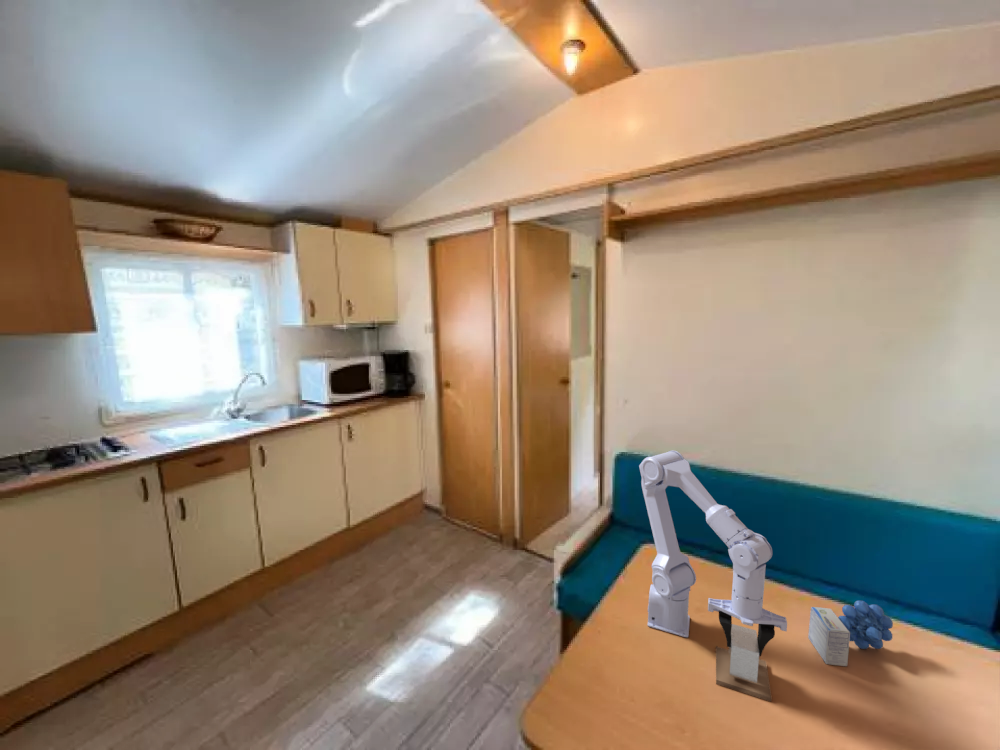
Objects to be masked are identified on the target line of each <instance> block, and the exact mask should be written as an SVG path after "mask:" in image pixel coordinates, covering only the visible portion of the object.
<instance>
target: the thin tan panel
mask: <svg viewBox="0 0 1000 750" xmlns="http://www.w3.org/2000/svg"><path fill="white" fill-rule="evenodd" d="M730 657H731V655H730V654H729V649H726V648H723V647H719V646H717V645H716V646H715V683H716V685H718V686H722V687H724V688H728V689H730V690H734V691H737V692H740V693H743V694H746V695H748V696H751V697H754V698H755V697H756V698H758V699H761V700H764V701H766V702H769V703H770V702H772V693H771V685H770V679H769V671H768V665H767V661H766V660H763V659H760V658H759V663H758V676H757V683H755V682H752V681H748V680H745V679H742V678H739V677H736V676H733V675H730Z"/></svg>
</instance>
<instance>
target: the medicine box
mask: <svg viewBox="0 0 1000 750" xmlns="http://www.w3.org/2000/svg"><path fill="white" fill-rule="evenodd" d="M809 614H810V615H809V625H808V634H807V636H808V640H809V641H810V642H811V644H812V645H813V647H814V648H815V650H816V652H817V653H818V654H819V655H820V657H821V659H822V660H823V662H824V663H825V664H826V665H831V666H832V665H833V666H841V667H847V666H848V661H849V660H848V659H849V650H850V642H851V641H850V632H849V631H848V629H847V628H846V627H845V626H844V624H843V623H842V622H841V621H840V619H839V618H838V617H839V616H838V615H836V613H835V612H834V611H833V609H832V608H826V607H820V606H819V607H817V606H811V607H810V613H809Z"/></svg>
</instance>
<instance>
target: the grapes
mask: <svg viewBox="0 0 1000 750" xmlns="http://www.w3.org/2000/svg"><path fill="white" fill-rule="evenodd" d="M853 605H854V606H852V605H850V604H845V605H842V608H841V610H842V611H841V612H842V613H843V614H842V615H839V616H837V617H838V618H839V619H840V621H841V622H842V623H843V624H844V626H845V627H846V628H847V629H848V631H849V632H850V641H849V642H854V644H855V646H856V647H858V648H859V649H862V650H867V649H869V647H870V646H871V648H873V649H875V650H880V649H882V648H884V642H890V641H892V639H893V633H892V631H891V630H890V629H892V628H893V627H894V624H893V623H894V622H893V621H892V619H891V618H890V617H889V616H888V615H885V611H884V610H883V608H882V607H881V606H880V605H878V604H870V605H869V604H868V603H867V602H865V601H864V600H856V601H855V602H854V604H853Z"/></svg>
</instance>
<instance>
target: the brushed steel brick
mask: <svg viewBox="0 0 1000 750" xmlns="http://www.w3.org/2000/svg"><path fill="white" fill-rule="evenodd" d="M757 637H758V632H757V630H756V629H752V628H749V627H745V626H741V625H737V624H733V623H732V628H731V648H730V647H728V650H729V654H730V655H731V657H730V675H733V676H736V677H739V678H742V679H745V680H748V681H752V682H755V683H757V676H758V663H759V659H760V656H759V648H758V640H757Z"/></svg>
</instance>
